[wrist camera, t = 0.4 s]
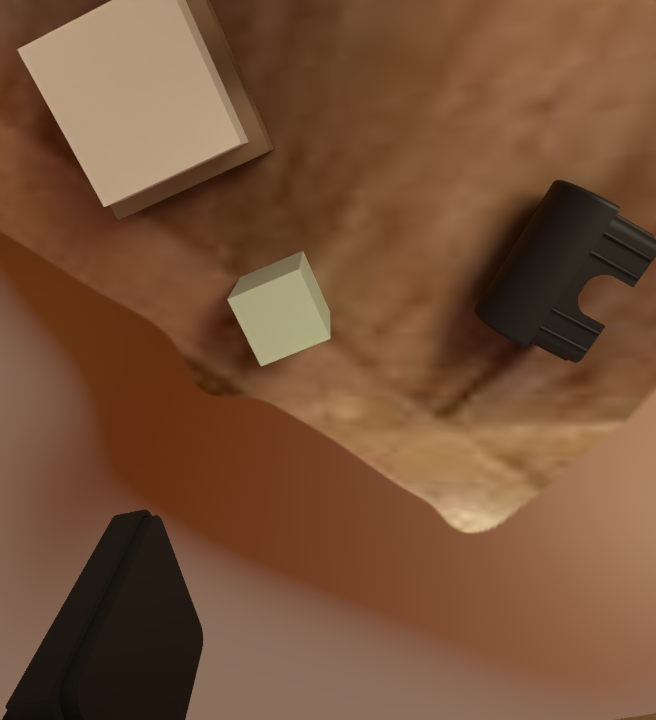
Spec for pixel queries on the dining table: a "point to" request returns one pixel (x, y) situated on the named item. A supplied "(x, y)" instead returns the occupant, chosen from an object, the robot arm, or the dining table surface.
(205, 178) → the walnut slab
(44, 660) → the robot arm
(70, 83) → the white slab
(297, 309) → the green block
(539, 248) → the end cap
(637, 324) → the dining table surface
